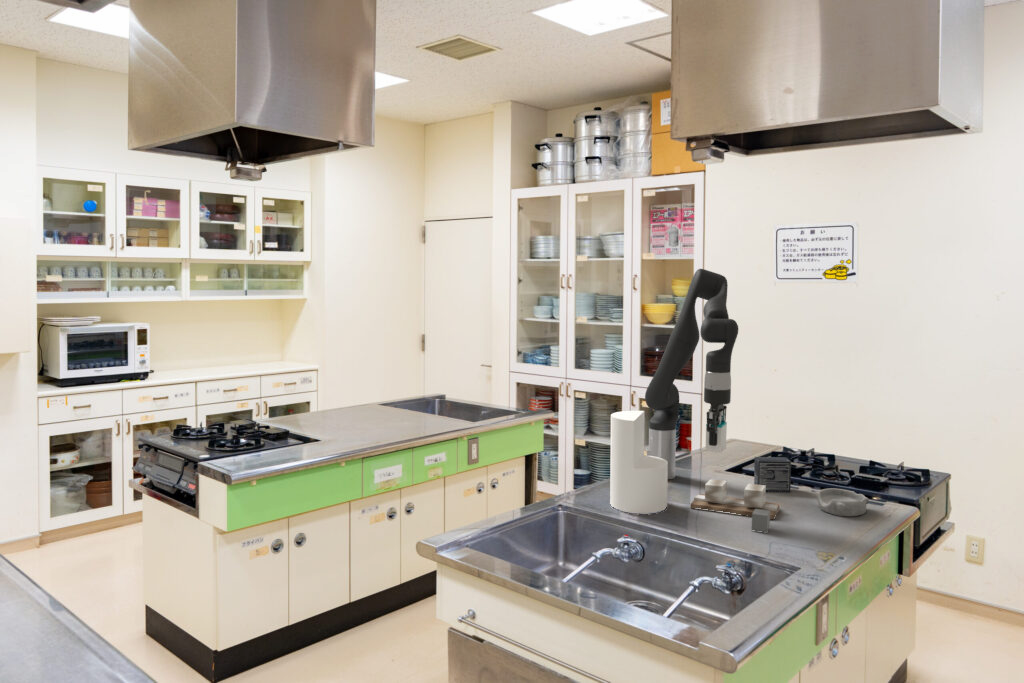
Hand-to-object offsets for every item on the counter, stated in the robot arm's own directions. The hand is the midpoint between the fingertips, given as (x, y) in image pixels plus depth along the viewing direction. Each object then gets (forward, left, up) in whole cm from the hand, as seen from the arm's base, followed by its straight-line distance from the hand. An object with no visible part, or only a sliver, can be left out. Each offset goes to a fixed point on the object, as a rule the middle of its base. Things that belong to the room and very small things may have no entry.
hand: (715, 442), depth 222 cm
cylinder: (-22, -3, -21) cm, 31 cm away
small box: (+12, +33, -21) cm, 41 cm away
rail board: (+5, +7, -21) cm, 23 cm away
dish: (+34, +20, -22) cm, 45 cm away
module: (0, 0, -2) cm, 2 cm away
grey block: (+15, -9, -21) cm, 27 cm away
